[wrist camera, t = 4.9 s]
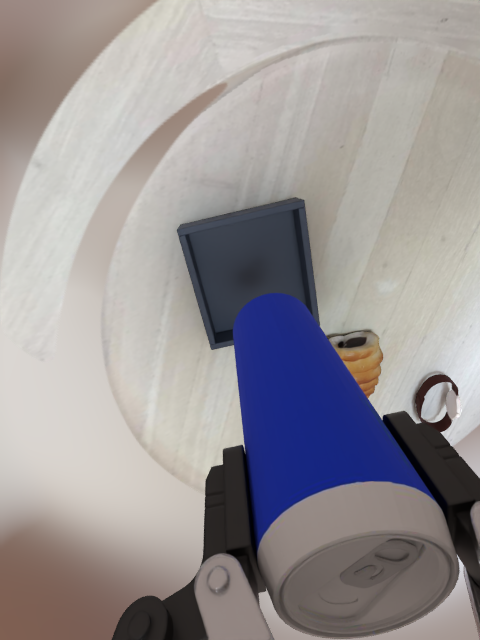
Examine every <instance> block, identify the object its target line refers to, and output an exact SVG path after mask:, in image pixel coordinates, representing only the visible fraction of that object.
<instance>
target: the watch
mask: <svg viewBox="0 0 480 640" xmlns="http://www.w3.org/2000/svg"><path fill="white" fill-rule="evenodd" d="M441 382H450V383H452V390H451V391H449V392H448V393H447V396H446V408H447V412H446V415H445V416H444V418H443V419H442V420H440V421H438V422H435V423H430V422H426V421H425V420H423V419H422V418H421V409H422V405H423V402H424V396H425V395H426V393H427V392H428V390H429V389H430V388H431V387H432V386H434V385H436V384H438V383H441ZM416 395H417V396H416V400H415V403H416V408H417V413H418V416H419V418H420V420H421V422H422V423H424V422H425V423H427V424H428V425H430V426H431V427H433V428H434V429H436V430H438V431H439V432H443V431H445V430H446V429H448V428H449V426H450V425H451V423H452V422H453V419H455V418H459V417H460V414H461V400H460V397H459V395H458V388H457V386H456V385H455V383H454V382H453V381H452V380H451V379H450V378H449V377H448V376H446V375H442V374H438V375H434V376H432V377H430V378H428V379H427V380H426V381H425V382H424V383H423V384H422V386H421V387H420V389H419V391H418V393H417V394H416Z"/></svg>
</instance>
